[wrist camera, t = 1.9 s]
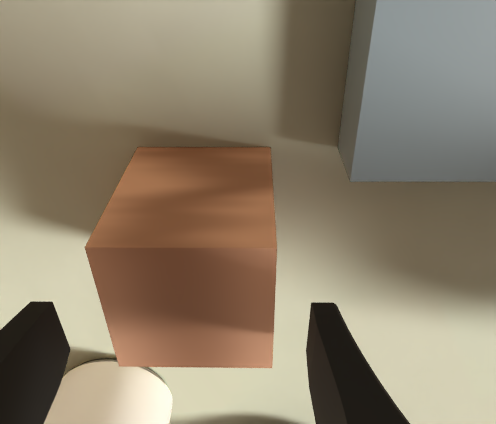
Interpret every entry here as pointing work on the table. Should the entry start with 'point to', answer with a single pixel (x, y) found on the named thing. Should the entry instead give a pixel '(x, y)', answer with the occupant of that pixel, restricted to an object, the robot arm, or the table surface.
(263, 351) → the block
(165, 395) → the can
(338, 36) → the table surface
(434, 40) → the base
